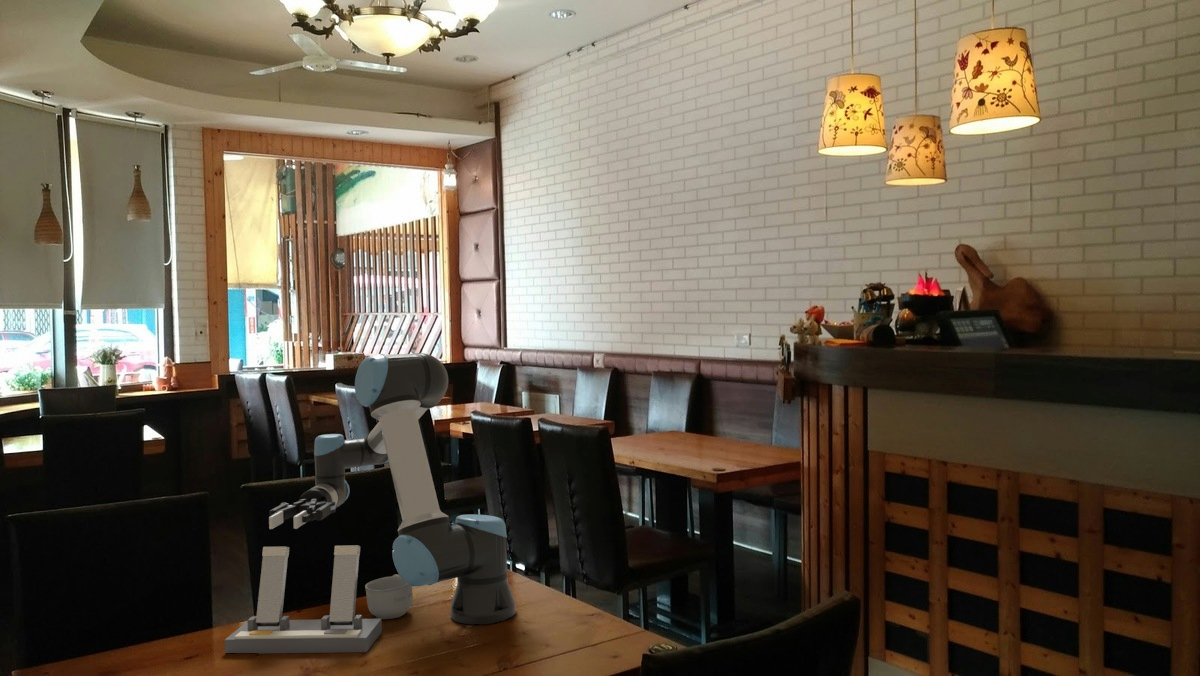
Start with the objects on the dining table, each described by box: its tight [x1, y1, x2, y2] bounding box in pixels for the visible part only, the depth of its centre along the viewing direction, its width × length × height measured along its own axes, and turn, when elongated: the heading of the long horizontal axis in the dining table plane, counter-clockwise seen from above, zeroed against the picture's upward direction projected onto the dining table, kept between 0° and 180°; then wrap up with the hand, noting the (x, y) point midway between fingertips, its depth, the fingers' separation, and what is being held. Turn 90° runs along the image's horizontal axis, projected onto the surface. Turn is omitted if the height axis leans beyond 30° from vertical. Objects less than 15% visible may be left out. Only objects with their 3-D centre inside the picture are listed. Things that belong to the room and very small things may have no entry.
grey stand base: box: [224, 614, 383, 654], centre depth 193 cm, size 30×12×6 cm, turn 89°
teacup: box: [364, 573, 414, 620], centre depth 212 cm, size 14×11×8 cm
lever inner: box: [329, 544, 361, 626], centre depth 195 cm, size 5×2×17 cm, turn 89°
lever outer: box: [255, 546, 290, 627], centre depth 196 cm, size 5×2×17 cm, turn 89°
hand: (283, 522), depth 202 cm, fingers open, 5 cm apart
